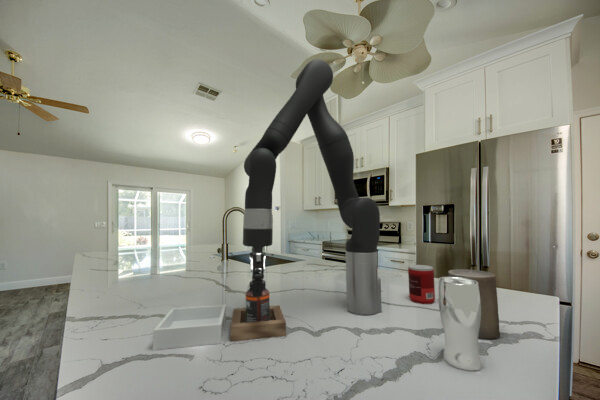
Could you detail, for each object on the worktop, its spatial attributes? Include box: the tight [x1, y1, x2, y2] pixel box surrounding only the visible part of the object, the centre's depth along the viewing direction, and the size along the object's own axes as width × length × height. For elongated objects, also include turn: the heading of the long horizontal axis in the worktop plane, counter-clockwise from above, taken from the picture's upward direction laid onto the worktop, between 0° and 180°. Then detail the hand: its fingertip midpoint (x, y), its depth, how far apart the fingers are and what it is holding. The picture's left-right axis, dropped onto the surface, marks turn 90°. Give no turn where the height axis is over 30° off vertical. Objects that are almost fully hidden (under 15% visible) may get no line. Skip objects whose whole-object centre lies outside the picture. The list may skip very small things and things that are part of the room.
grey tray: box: [152, 304, 227, 351], centre depth 62 cm, size 14×14×4 cm
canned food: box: [407, 264, 436, 305], centre depth 86 cm, size 8×8×11 cm
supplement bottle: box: [245, 279, 271, 323], centre depth 65 cm, size 6×6×11 cm
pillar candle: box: [448, 267, 501, 340], centre depth 63 cm, size 10×10×15 cm
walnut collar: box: [230, 305, 287, 342], centre depth 65 cm, size 12×12×3 cm
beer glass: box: [437, 276, 482, 372], centre depth 49 cm, size 7×7×15 cm
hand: (256, 291), depth 65 cm, fingers open, 8 cm apart
